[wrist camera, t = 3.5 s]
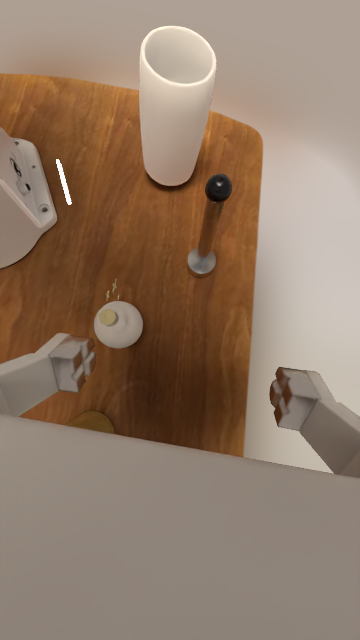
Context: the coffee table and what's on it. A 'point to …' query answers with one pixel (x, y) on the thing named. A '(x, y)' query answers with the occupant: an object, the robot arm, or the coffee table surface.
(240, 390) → the coffee table surface
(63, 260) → the coffee table surface
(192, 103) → the cup
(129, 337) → the ornament
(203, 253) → the black knob on rod
